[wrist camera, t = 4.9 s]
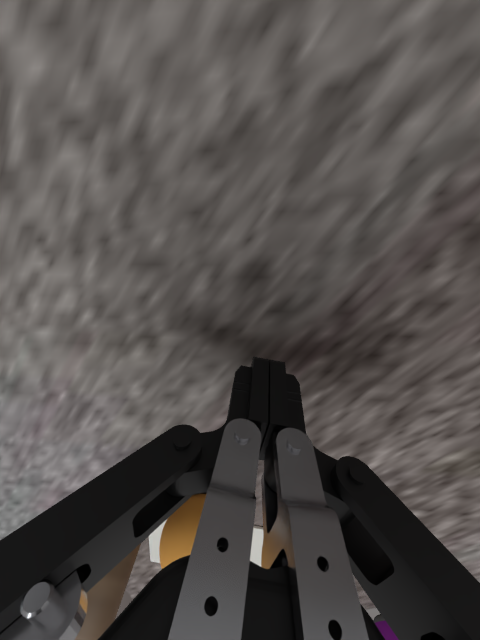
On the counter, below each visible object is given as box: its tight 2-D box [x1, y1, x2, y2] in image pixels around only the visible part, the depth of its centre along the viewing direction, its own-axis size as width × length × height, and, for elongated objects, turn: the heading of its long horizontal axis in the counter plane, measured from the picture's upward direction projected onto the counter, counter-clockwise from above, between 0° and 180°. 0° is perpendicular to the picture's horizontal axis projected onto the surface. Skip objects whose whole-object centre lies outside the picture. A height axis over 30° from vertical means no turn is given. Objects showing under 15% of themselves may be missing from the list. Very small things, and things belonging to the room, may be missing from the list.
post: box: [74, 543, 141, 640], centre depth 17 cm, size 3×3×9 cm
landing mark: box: [149, 520, 263, 566], centre depth 28 cm, size 14×14×1 cm
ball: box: [159, 494, 206, 569], centre depth 20 cm, size 6×6×6 cm
